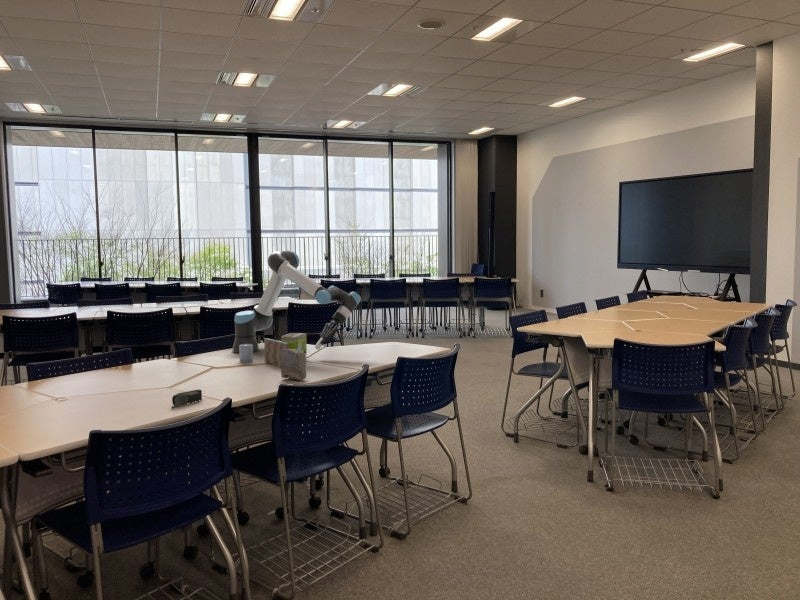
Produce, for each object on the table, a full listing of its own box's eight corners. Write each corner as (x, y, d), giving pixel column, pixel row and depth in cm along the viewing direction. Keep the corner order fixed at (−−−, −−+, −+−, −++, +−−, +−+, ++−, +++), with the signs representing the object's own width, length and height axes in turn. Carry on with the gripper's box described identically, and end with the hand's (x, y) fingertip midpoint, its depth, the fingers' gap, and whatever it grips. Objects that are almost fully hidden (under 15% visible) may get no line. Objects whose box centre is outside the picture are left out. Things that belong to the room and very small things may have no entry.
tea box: (298, 364, 331) (298, 336, 329) (280, 364, 332) (279, 336, 331) (307, 359, 345) (306, 332, 344) (289, 358, 347) (289, 332, 346)
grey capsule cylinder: (237, 361, 341) (237, 344, 340) (249, 359, 345) (248, 343, 344) (243, 363, 335) (242, 346, 334) (255, 361, 340) (254, 345, 339)
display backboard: (264, 361, 338) (263, 338, 337) (267, 361, 339) (266, 338, 338) (286, 368, 320) (285, 343, 319) (289, 368, 321) (288, 343, 320)
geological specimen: (306, 379, 293) (306, 348, 292) (298, 382, 288) (298, 350, 286) (288, 377, 298) (287, 346, 297) (280, 380, 293) (279, 348, 291)
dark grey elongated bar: (198, 388, 258) (168, 395, 245) (203, 389, 256) (173, 396, 244) (198, 400, 258) (168, 407, 245) (203, 401, 257) (173, 408, 244)
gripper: (351, 320, 349) (327, 354, 341) (339, 318, 360) (314, 350, 351) (343, 312, 346) (318, 345, 337) (331, 310, 356) (306, 342, 347)
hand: (316, 348), depth 344 cm, fingers closed
